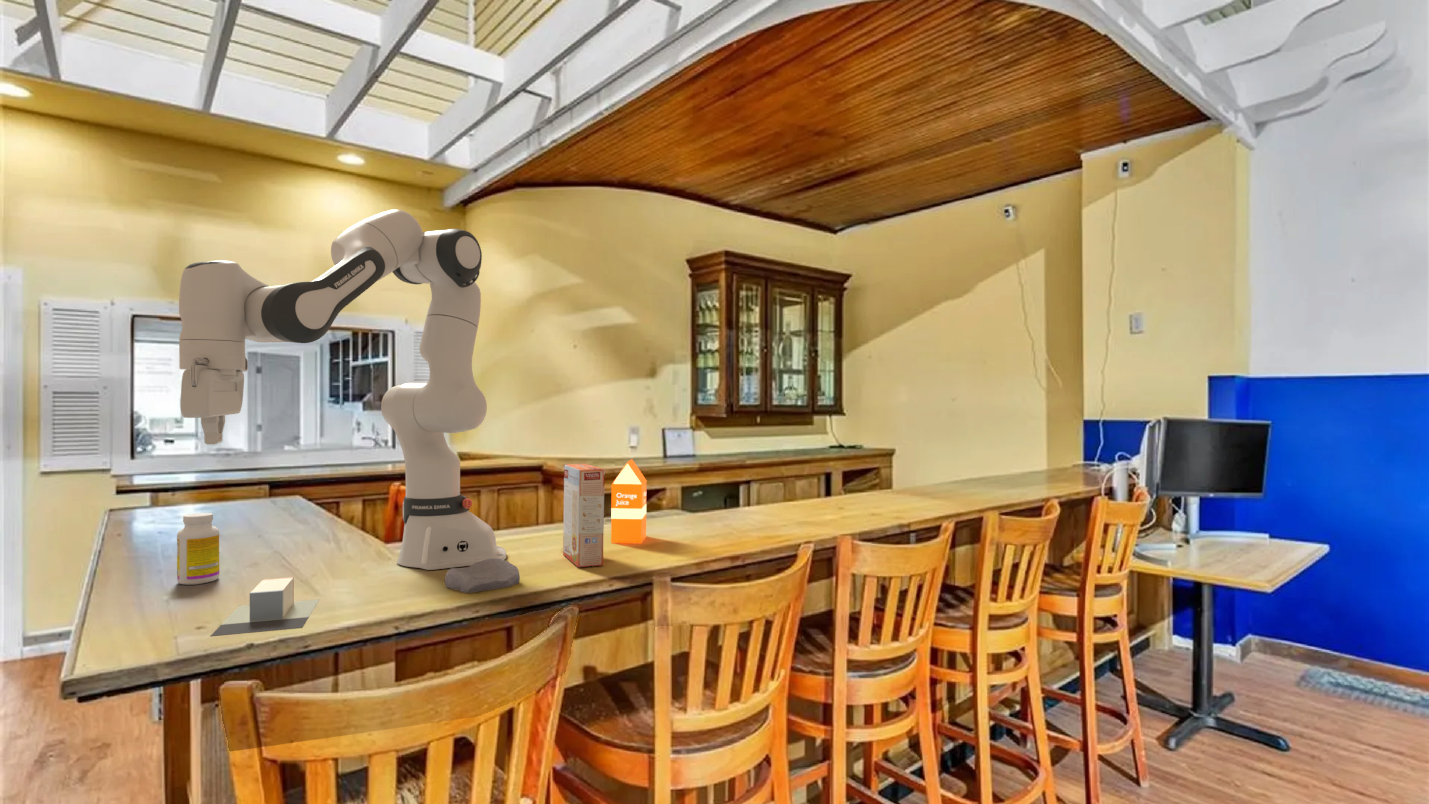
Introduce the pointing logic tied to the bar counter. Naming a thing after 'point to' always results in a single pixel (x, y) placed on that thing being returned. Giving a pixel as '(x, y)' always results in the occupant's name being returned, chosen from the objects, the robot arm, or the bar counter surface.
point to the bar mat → (242, 624)
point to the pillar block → (271, 599)
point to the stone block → (483, 576)
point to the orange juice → (628, 506)
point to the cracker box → (583, 514)
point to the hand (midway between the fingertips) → (213, 443)
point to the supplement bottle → (197, 550)
